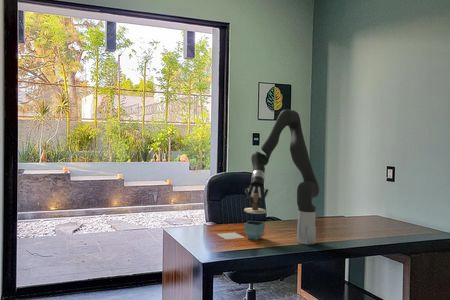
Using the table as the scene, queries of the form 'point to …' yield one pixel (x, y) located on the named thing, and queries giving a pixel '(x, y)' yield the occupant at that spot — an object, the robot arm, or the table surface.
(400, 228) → the table surface
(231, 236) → the mat
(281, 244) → the table surface
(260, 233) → the flower pot
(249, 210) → the lid
